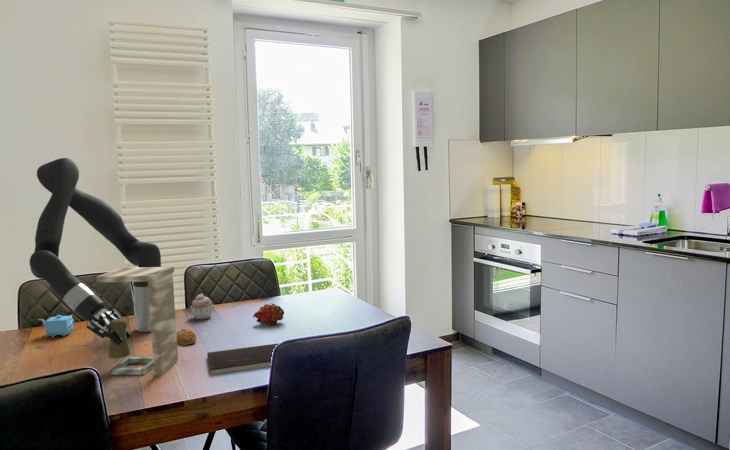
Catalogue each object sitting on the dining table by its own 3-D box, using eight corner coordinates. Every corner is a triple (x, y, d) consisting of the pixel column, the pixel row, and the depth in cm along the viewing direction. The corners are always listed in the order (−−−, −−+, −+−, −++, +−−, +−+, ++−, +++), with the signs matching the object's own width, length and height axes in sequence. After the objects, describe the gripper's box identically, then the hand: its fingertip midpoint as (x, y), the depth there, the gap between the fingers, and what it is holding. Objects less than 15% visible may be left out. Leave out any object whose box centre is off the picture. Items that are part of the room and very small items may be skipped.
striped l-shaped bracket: (104, 377, 160) (96, 276, 157) (127, 360, 174) (120, 267, 171) (161, 376, 159) (154, 276, 156) (179, 359, 173) (173, 266, 170)
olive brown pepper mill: (121, 358, 163) (120, 322, 162) (104, 357, 164) (102, 321, 163) (134, 352, 169) (132, 317, 168) (116, 351, 170) (115, 316, 169)
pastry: (201, 343, 190) (200, 332, 189) (181, 347, 186) (181, 337, 185) (191, 337, 197) (190, 326, 197) (172, 341, 193) (171, 330, 193)
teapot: (36, 339, 199) (34, 319, 198) (42, 334, 205) (41, 314, 204) (72, 336, 201) (70, 316, 200) (77, 331, 207) (76, 312, 206)
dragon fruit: (287, 327, 211) (256, 333, 210) (285, 310, 217) (255, 316, 216) (283, 313, 205) (252, 320, 204) (281, 296, 211) (250, 302, 210)
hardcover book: (288, 365, 168) (288, 358, 167) (211, 376, 160) (210, 369, 160) (278, 349, 183) (278, 342, 182) (207, 358, 175) (207, 351, 175)
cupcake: (219, 316, 223) (218, 292, 222) (201, 322, 216) (199, 297, 214) (203, 313, 228) (202, 289, 227) (185, 318, 221) (184, 294, 219)
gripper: (77, 298, 158) (121, 339, 159) (104, 287, 172) (144, 324, 173) (61, 316, 159) (105, 357, 159) (89, 304, 173) (128, 341, 174)
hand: (125, 340), depth 166 cm, fingers closed on olive brown pepper mill, 4 cm apart
